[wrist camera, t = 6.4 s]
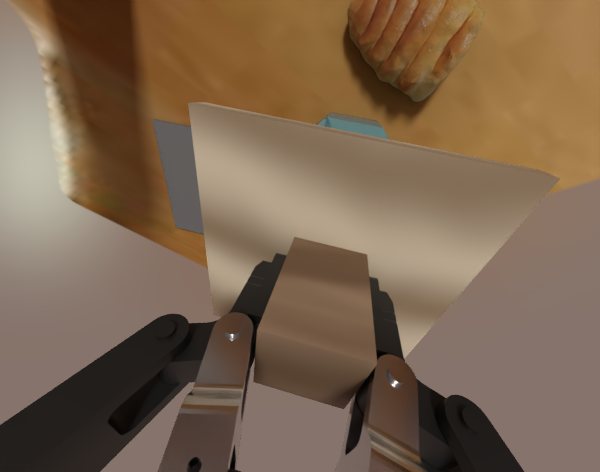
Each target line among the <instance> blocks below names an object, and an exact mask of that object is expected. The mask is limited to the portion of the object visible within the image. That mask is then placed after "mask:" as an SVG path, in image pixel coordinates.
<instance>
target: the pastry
mask: <svg viewBox="0 0 600 472" xmlns="http://www.w3.org/2000/svg"><path fill="white" fill-rule="evenodd" d="M483 16H484V11H483V9H482V8H481V7H479V6H478V5H477V4H476V2H475V1H474V0H352V2H351V4H350V6H349V9H348V24H349V34H350V38H351V39H352V41H353V42H354V43H355V45H356V46H357V47H358V48H359V50H360V52H361V54H362V57H363V59H364V60H365V61H366V62H367V63H368V64H369V65H370V66H371V67H372V68H373V70H374V71H375V72H376V75H377V77H378V78H379V80H381V81H383V82H388V83H390V84H391V85H392V86H394V87H396V88H398V89H399V90H400V91H401V92H403V93H404V94H407V95H408V96H410V97H411V99H412V100H413V101H415V102H419V101H422V100H424V99H425V98H426V97H428V96H429V95H430V94H431V93H432V92H433V91H434V90H435V88H436V87H437V86H438V85H439V83H441V82H442V81H443V80H444V79H445V78H446V76H447V75H448V74H449V73H450V71H451V70H452V69H453V68H454V67H455V66H456V64H457V63H458V62H459V60H460V59H461V58H462V57H463V56H464V55H465V53H466V52H467V50H468V48H469V46H470V44H471V42H472V40H473V39H474V38H475V37H476V35H477V33H478V31H479V29H480V27H481V25H482V19H483Z"/></svg>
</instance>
